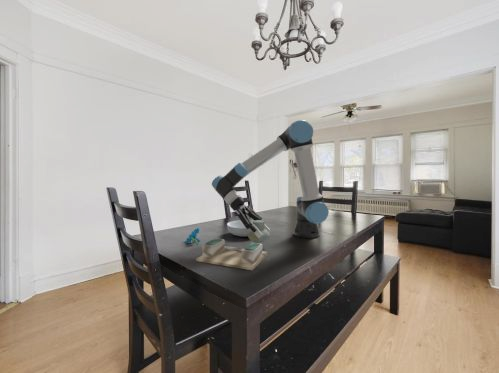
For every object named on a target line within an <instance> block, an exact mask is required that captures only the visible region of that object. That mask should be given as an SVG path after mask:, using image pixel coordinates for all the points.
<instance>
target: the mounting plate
mask: <svg viewBox="0 0 499 373" xmlns="http://www.w3.org/2000/svg"><path fill="white" fill-rule="evenodd" d="M201 248H202V255H200V256H199V257H196V258H195V261H196V262H199V263H206V264H210V265H211V264H212V265H218V266H222V267H223V266H224V267H231V268H234V269H241V270H248V271H253V270H254V269H255V268H256V267H257V266H258V265H260V263H261V262H262V261H263V260H264V259H265V258H266V257H267V256H268V251H265V250H263V243H255V242H251V243H249V245H246V247H244V248H242V247H236V246H235V247H234V246H228V245H227V246H226V243H225V239H223V238H216V237H215V238H213V239H211V240H208V241H207V242H205V243H204V244H202V247H201Z"/></svg>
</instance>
